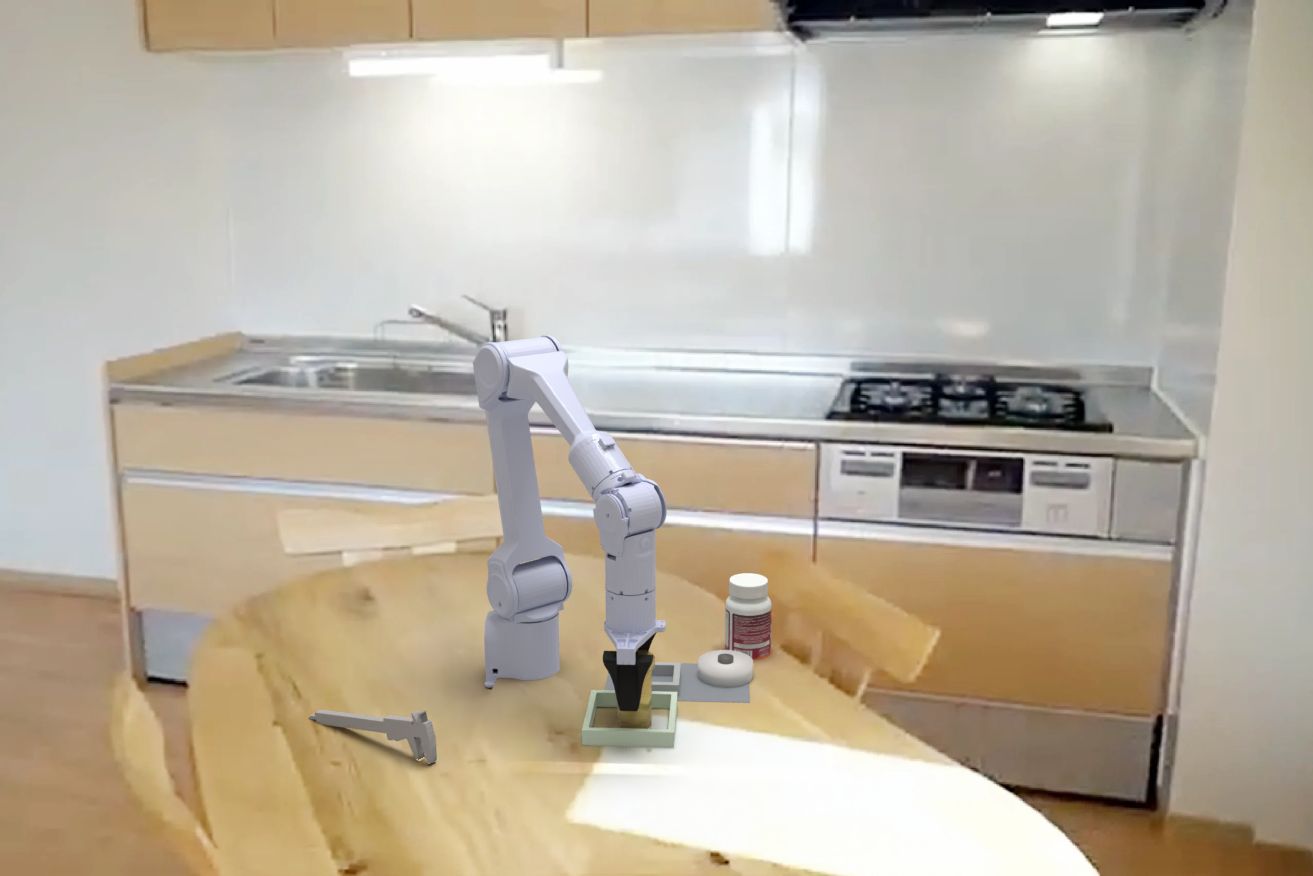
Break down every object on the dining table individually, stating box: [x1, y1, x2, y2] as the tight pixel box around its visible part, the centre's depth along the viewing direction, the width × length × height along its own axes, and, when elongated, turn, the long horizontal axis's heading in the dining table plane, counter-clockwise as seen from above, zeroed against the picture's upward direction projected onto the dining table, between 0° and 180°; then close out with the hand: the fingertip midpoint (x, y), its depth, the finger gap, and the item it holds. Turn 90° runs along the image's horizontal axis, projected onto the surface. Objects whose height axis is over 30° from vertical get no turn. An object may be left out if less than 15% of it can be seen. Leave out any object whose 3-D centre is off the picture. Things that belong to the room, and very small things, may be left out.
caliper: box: [308, 709, 438, 765], centre depth 142 cm, size 20×1×6 cm, turn 56°
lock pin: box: [616, 649, 656, 729], centre depth 143 cm, size 5×5×9 cm
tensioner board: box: [604, 649, 754, 704], centre depth 155 cm, size 18×11×4 cm, turn 87°
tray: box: [581, 689, 678, 749], centre depth 144 cm, size 10×10×3 cm
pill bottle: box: [724, 572, 773, 661], centre depth 163 cm, size 6×6×11 cm
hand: (631, 697), depth 143 cm, fingers open, 6 cm apart
